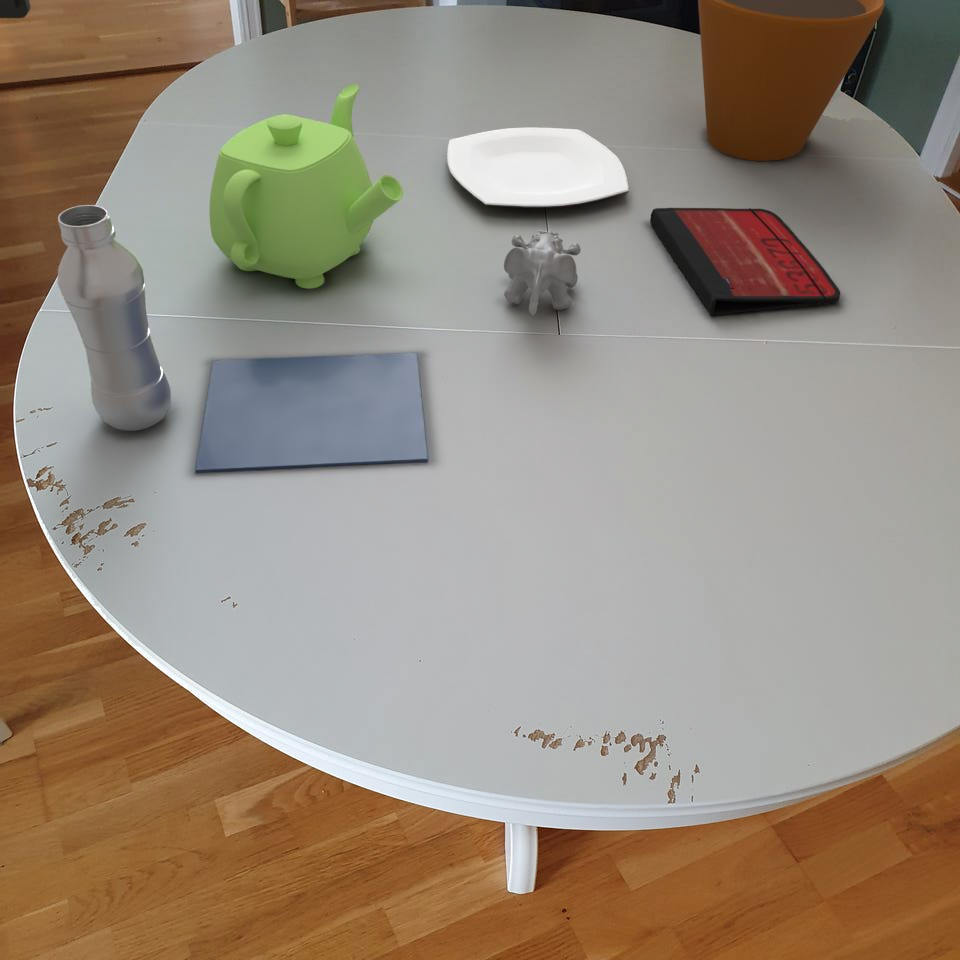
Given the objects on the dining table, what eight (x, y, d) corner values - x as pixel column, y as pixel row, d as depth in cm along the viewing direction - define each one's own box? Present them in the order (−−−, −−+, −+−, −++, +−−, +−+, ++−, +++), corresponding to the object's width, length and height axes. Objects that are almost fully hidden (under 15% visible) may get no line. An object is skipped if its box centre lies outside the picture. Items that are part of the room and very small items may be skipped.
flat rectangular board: (195, 472, 81) (195, 470, 80) (213, 362, 92) (212, 360, 92) (427, 461, 83) (427, 458, 83) (416, 355, 94) (416, 352, 94)
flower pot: (799, 192, 124) (844, 32, 110) (642, 142, 134) (665, -10, 120) (864, 136, 138) (911, -12, 124) (717, 95, 148) (746, -47, 134)
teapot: (353, 336, 96) (343, 191, 86) (182, 283, 103) (152, 142, 92) (459, 230, 113) (462, 98, 102) (306, 191, 119) (294, 62, 108)
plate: (587, 135, 135) (588, 121, 134) (648, 210, 119) (651, 195, 117) (430, 147, 130) (430, 133, 129) (472, 227, 114) (473, 212, 112)
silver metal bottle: (103, 398, 88) (42, 198, 74) (178, 392, 89) (132, 194, 75) (95, 443, 83) (29, 239, 69) (174, 436, 84) (124, 233, 70)
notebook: (714, 298, 100) (651, 206, 114) (709, 316, 101) (647, 223, 116) (850, 293, 103) (772, 204, 118) (843, 311, 104) (766, 221, 119)
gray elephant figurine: (570, 275, 106) (577, 213, 101) (597, 335, 98) (606, 270, 93) (490, 280, 105) (493, 217, 100) (510, 341, 97) (514, 276, 91)
